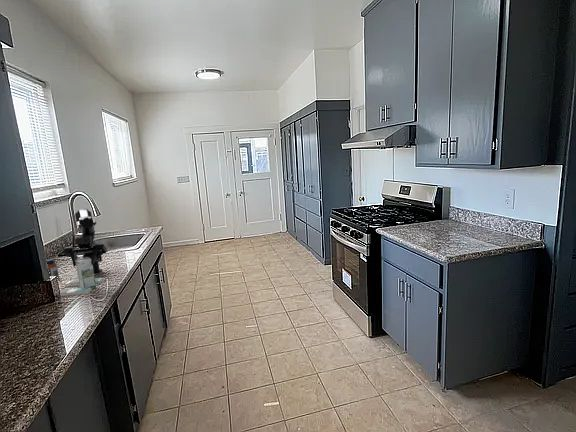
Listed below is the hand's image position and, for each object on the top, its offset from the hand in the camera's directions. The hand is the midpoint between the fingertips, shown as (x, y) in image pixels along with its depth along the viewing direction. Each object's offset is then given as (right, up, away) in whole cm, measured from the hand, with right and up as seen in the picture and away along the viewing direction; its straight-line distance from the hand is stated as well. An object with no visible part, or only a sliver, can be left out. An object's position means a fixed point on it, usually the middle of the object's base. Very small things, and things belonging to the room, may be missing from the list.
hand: (83, 265), depth 167 cm
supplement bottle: (-29, -11, +19) cm, 36 cm away
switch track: (-4, -12, +3) cm, 13 cm away
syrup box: (0, -11, +4) cm, 12 cm away
